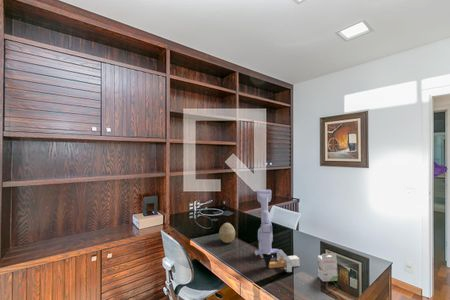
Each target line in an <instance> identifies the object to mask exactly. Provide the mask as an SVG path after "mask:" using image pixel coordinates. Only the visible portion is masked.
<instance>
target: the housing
mask: <svg viewBox="0 0 450 300" xmlns="http://www.w3.org/2000/svg"><path fill="white" fill-rule="evenodd" d="M278 250H279V253H276V260H277V261H284V267H283V269H284V271H285V272H286V273H292V272H293V270H292V269H293V267H292V260H291V259H290V258H289V257H288V256H289V255H287V254H286V253H285V252H284V251H283V249H278Z"/></svg>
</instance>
